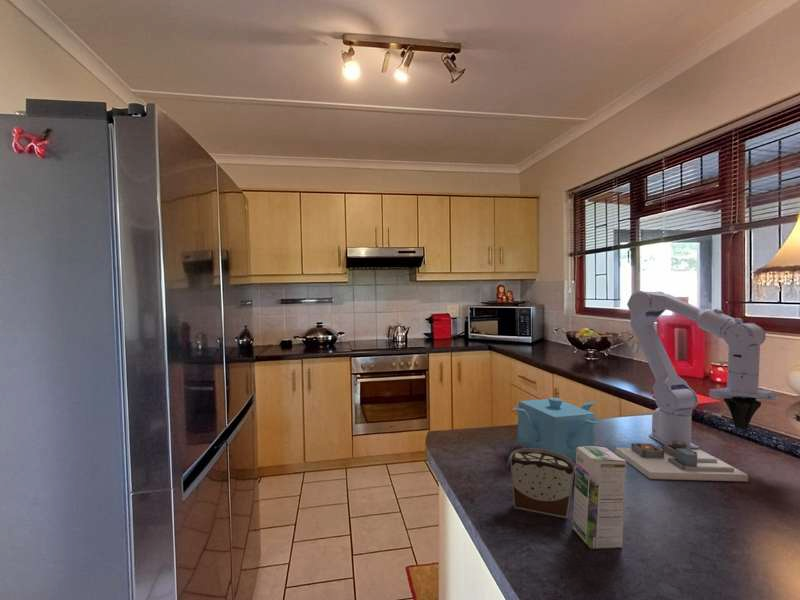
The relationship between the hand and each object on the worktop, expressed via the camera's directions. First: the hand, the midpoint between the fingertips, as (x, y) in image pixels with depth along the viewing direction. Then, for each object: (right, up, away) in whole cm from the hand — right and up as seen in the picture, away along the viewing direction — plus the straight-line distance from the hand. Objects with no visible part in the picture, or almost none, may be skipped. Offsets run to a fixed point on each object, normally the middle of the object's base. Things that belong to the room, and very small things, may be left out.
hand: (740, 428), depth 95 cm
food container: (-56, -9, -20) cm, 60 cm away
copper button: (-21, -7, +3) cm, 22 cm away
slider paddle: (-16, -7, -4) cm, 18 cm away
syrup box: (-50, -9, -30) cm, 59 cm away
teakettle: (-44, -9, +2) cm, 45 cm away
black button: (-13, -6, +3) cm, 15 cm away
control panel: (-16, -9, -1) cm, 19 cm away
